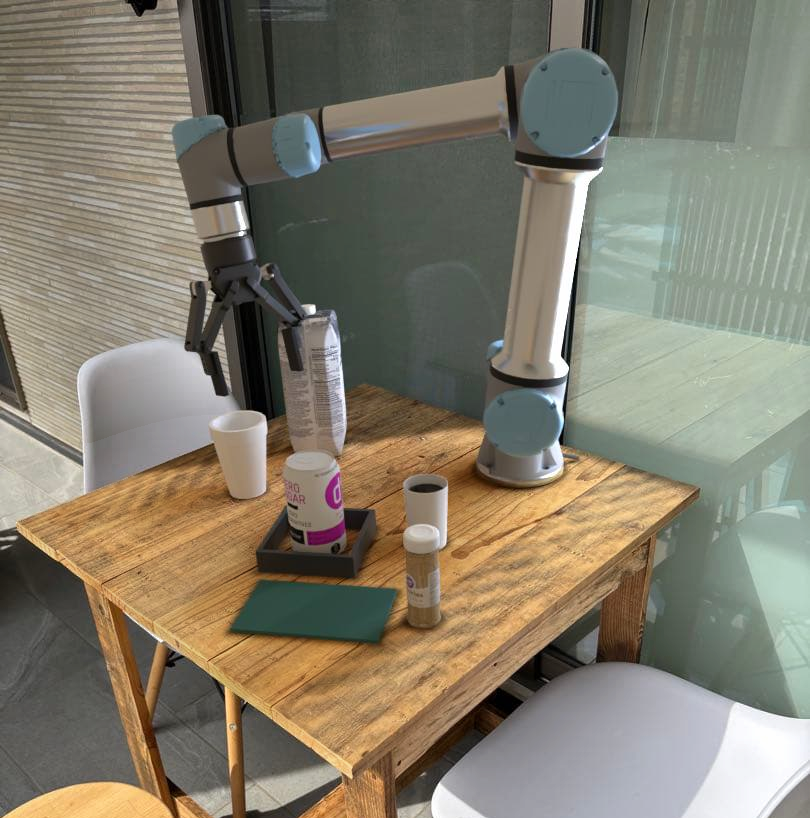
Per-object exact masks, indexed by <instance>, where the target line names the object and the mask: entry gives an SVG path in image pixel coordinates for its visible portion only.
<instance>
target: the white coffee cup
mask: <svg viewBox="0 0 810 818" xmlns="http://www.w3.org/2000/svg"><path fill="white" fill-rule="evenodd" d="M402 489H403V501H404V508H405V509H404V510H405V519H406V529H407V528H408V527H410V526H413V525H417V524H427V525H431V526H433V527H435V528H437V529H438V531H439V536H440V545H439V549H438V551H439V550H441V549H443V548H444V547H445V546H446V545H447V535H448V501H449V499H448V497H449V496H448V495H449V481H448V480H447V479H446V477H444V476H442V475H439V474H436V473H435V474H434V473H420V474H414V475H412V476H409V477H407V478H406V479H405V480H403V484H402Z"/></svg>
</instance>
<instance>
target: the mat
mask: <svg viewBox="0 0 810 818" xmlns="http://www.w3.org/2000/svg"><path fill="white" fill-rule="evenodd" d="M397 593H398V589H397V588H393V587H392V588H390V587H380V586H379V587H378V586H376V587H375V586H362V585H349V584H348V585H347V584H335V583H334V584H333V583H317V582H304V581H303V582H302V581H289V580H276V579H259V581H258V582H257V584H256V586H255V587H254V589H253V591H252V592H251V594H250V595H249V597H248V599H247V600H246V602H245V604H244V605H243V607H242V609H241V610H240V612H239V614H237V617H236V618H235V620H234V622H233V623H232V625H231V626H230V628H229V629H230V630H229V631H230V633H237V634H250V635H261V636H262V635H263V636H274V637H275V636H277V637H288V638H300V639H301V638H302V639H312V640H324V641H325V640H326V641H337V642H349V643H363V644H374V645H379V644H380V641H381V639H382V637H383V633H384V631H385V628H386V625H387V622H388V619H389V616H390V614H391V610H392V607H393V605H394V602H395V599H396V596H397Z"/></svg>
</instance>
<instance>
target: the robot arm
mask: <svg viewBox="0 0 810 818" xmlns="http://www.w3.org/2000/svg"><path fill="white" fill-rule="evenodd" d="M618 105H619V91H618V86H617V81H616V79H615V76H614V73H613V72H612V70H611V68H610V67H609V65H608V64H607V62H606V61H605V60H604V59H603V58H602V57H601V56H600V55H598V54H597V53H596V52H594V51H592V50H590V49H587V48H581V47H577V46H573V47H561V48H555V49H553V50H550V51H548V52H547V53H545V54H542V55H539V56H537V57H535V58H531V59H529V60H526V61H523V62H518V63H514V64H510V65H505V66H504V65H503V66H501V68H500V69H499V70H498V72H497V73H496V74H495V75H494V76H493V75H492V76H487V77H483V78H476V79H471V80H466V81H465V80H464V81H459V82H455V83H449V84H444V85H437V86H433V87H427V88H426V87H425V88H422V89H416V90H411V91H404V92H400V93H399V92H398V93H394V94H388V95H382V96H377V97H372V98H367V99H360V100H353V101H349V102H344V103H337V104H333V105H326V106H324V107H316V108H310V109H297V110H292V111H288V112H285V113H284V114H283V115H278V116H276V117H272V118H270V119H266V120H261V121H258V122H257V121H256V122H254V123H249V124H245V125H241V126H237V127H236V126H234V127H228V125H226V122H225V119H224V118H223V116H221V115H219V114H208V115H201V116H198V117H191V118H186V119H182V120H180V121H177V122H176V123H174V125H173V126H172V127H171V137H172V142H173V147H174V152H175V156H176V158H175V161H176V164H177V165H178V169H179V172H180V176H181V179H182V183H183V186H184V190H185V194H186V197H187V201H188V204H189V206H188V207H189V209H190V214H191V218H192V221H193V225H194V229H195V232H196V236H197V239H198V240H202V243H201V244H200V246H199V249H200V253H201V257H202V260H203V261H202V262H203V265H204V268H205V270H206V272H207V280H204V281H203V280H192V281H190V282H189V284H188V285H189V293H190V304H189V311H188V318H187V325H186V332H185V339H184V346H183V348H184V351H185V352H187V353H196V354H198V355H199V357H200V362H201V366H202V369H203V373H204V374H205V376H210V379H211V383H212V386H213V390H214V393H215V396H217V397H228V396H230V393H229V390H228V385H227V381H226V378H225V374H224V369H223V367H222V363H221V360H220V355H219V351H217V350H216V351H215V350H213V348H214V346H215V343H216V340H217V338H218V335H219V332H220V330H221V328H222V325H223V322H224V320H225V317H226V315H227V313H228V311H229V310H230V309H231V307H232V306H233V307H234V306H239V305H241V304H243V303H250V302H256V303H258V304H259V305H260V306H261V307H262V308H263V309H265V310H266V311H267V312H268V313H269V314H271V315H272V316H273V317H274V318H275V319H276V320H278V322H281V323H282V324H283V325H285V326H286V327H287V328H285V329H281V331H282V336H283V340H284V344H285V348H286V353H287V357H288V361H289V366H290V370H291V371H303V370H304V368H303V363H302V359H301V355H300V350H299V348H301V347H302V341H301V336H300V332H299V327H301V325H302V321H303V320H306V319H307V317H308V315H307V313H306V312H305V310H304V309H303V307H302V306H301V305H302V304H301V303H300V301H299V300H298V298H297V297H296V296H295V295H294V293H293V291H292V290H291V288H290V287H289V286H288V285H287V283H286V282H285V280H284V279H283V277H282V276H281V275H282V274H281V272H280V269H279V266H278V264H277V263H275V262H268V263H264V264H262V266H261V267H259V265H258V263H257V253H256V249H255V244H254V240H253V236H251V235H250V234H248V233H247V232H248V231H250V228H251V227H250V221H249V219H248V214H247V211H246V207H245V203H244V198H243V195H242V189H241V188H245V187H246V188H247V187H250V186H254V185H258V184H259V185H260V184H265V183H270V182H271V183H272V182H276V181H281V180H286V179H292V178H293V179H299V178H301V177H303V176H305V175H309V174H313V173H315V172H317V171H318V170H319V169H320V167H321V166H322V165H326V164H331V163H335V162H342V161H348V160H354V159H360V158H366V157H373V156H379V155H385V154H392V153H398V152H404V151H410V150H416V149H422V148H423V149H424V148H428V147H435V146H439V145H440V146H441V145H448V144H453V143H459V142H465V141H466V142H467V141H472V140H477V139H483V138H484V139H485V138H489V137H496V136H502V137H503V138H504V139H506V141H508V142H513V141H516V142H515V150H514V151H515V153H514V159H513V160H514V161H513V162H514V163H513V164H514V165H515V166H516V167H517V168H518V170H519V171H520V173H521V174H522V177H523V180H522V186H521V187H522V188H521V196H520V205H519V211H518V221H517V229H516V235H515V236H516V237H515V243H514V250H513V251H514V253H513V260H512V269H511V276H510V285H509V292H508V299H507V300H508V301H507V307H506V317H505V324H504V333H503V339H500V340H496V341H493V342H491V343H490V344H489V346H487V350H486V351H487V353H486V357H485V362H486V389H485V402H484V411H483V415H482V425H483V428H484V435H483V438H482V441H481V444H480V446H479V449H478V452H477V454H476V459H475V465H476V466H475V470H476V473H477V474H478V476H479V477H480V478H482V479H483V480H485V481H486V482H489V483H491V484H493V485H497V486H501V487H507V488H516V489H517V488H521V489H522V488H536V487H540V486H544V485H547V484H550V483H553V482H555V481H556V480H557V479H559V478H560V477H561V476H562V475H563V472H564V465H565V464H564V463H565V460H564V459H569V460H570V459H571V460H576V461H579V460H580V456H579V455H576V454H571V453H567V452H566V453H564V452H562V449H561V446H560V442H559V438H560V436H561V434H562V431H563V428H564V423H565V418H564V411H563V406H564V400H565V395H566V394H565V393H566V388H567V387H566V386H567V382H568V381H567V380H568V375H569V365H568V363H567V362H566V361H565V360H564V358H563V357H562V356H561V355H562V347H563V341H564V335H565V328H566V322H567V316H568V310H569V304H570V299H571V290H572V285H573V278H574V272H575V267H576V262H577V261H576V259H577V255H578V248H579V242H580V236H581V230H582V224H583V216H584V210H585V205H586V199H587V192H588V185H589V183H590V181H592V179H594V178H595V177H596V176H597V175H599V173H601V172H602V170H603V165H604V160H605V154H606V149H607V144H608V143H607V142H608V137H609V132H610V131H611V129H612V127H613V125H614V121H615V119H616V117H617V112H618ZM262 278H263V280H265V281H266V282H267V284H268V286H269V287H270V289H271V290H272V291H273V292H274V294H275V295H276V296H277V298H278V299H279V301H280V302H281V303H282V304H280V302H278V301H277V299H275V298H274V297H272V296H271V294H270V292H268V291H267V290H266V288H264V287H263V286H262V285H261V282H262ZM210 291H211V292H212V293H213V294H214V297H213V300H212V302H211V305H210V307H211V309H210V311H209V313H208V317H207V319H206V322H205V324H204V321H205V315H206V308H207V301H208V299H207V297H208V296H209V294H210Z"/></svg>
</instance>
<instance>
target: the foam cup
mask: <svg viewBox="0 0 810 818" xmlns="http://www.w3.org/2000/svg"><path fill="white" fill-rule="evenodd" d="M266 417H267V416H266V415H265V414H263V412H259V411H255V410H234V411H229V412H224V413H221V414H219V415H216V416H215V417H213V418H212V419H210V420H209V425H208V430H209V436H210V440H212V442H213V444H214V448H215V452H216V454H217V458H218V461H219V464H220V467H221V470H222V474H223V476H224V479H225V483H226V486H227V490H228V492H229V495H230V496H232V498H234V499H239V500H249V499H255V498H258V497H260V496H263V494H264V493H265V492H267V435H268V423H267V418H266Z"/></svg>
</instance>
